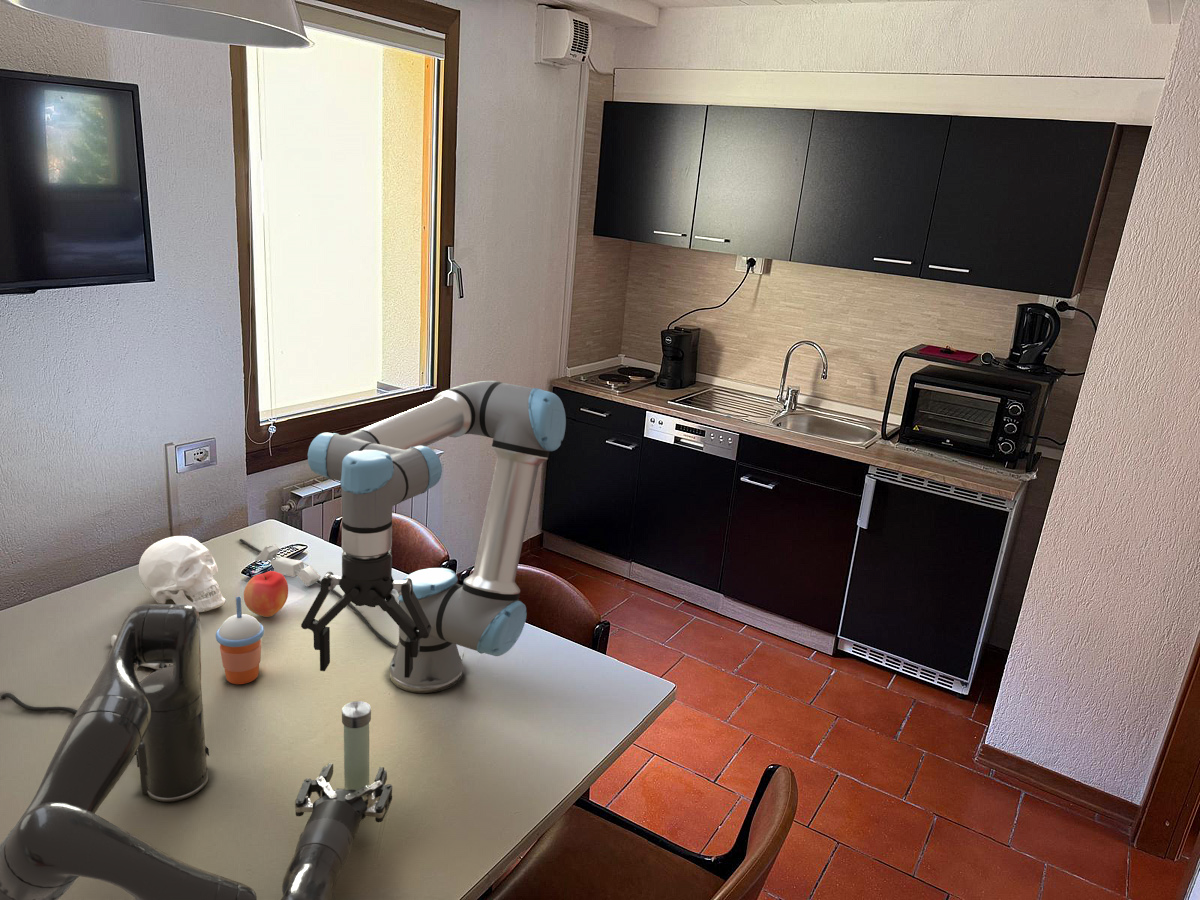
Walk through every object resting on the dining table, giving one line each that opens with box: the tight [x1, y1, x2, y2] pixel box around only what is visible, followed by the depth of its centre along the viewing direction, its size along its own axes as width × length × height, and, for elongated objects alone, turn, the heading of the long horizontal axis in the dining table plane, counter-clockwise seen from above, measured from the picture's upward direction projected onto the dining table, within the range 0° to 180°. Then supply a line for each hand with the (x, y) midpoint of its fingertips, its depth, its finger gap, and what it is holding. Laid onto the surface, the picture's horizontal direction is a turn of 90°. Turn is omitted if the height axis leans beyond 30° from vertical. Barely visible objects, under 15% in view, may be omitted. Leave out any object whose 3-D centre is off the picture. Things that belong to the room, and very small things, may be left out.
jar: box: [343, 722, 370, 798], centre depth 143 cm, size 4×4×17 cm
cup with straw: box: [215, 596, 265, 685], centre depth 173 cm, size 9×9×18 cm
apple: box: [243, 570, 289, 618], centre depth 199 cm, size 10×10×10 cm
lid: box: [341, 700, 372, 728], centre depth 141 cm, size 5×5×2 cm
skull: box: [138, 535, 226, 613], centre depth 202 cm, size 13×22×16 cm, turn 73°
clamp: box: [254, 544, 322, 587], centre depth 219 cm, size 20×4×7 cm, turn 62°
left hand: (356, 769), depth 143 cm, fingers open, 8 cm apart
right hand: (366, 670), depth 139 cm, fingers open, 13 cm apart
